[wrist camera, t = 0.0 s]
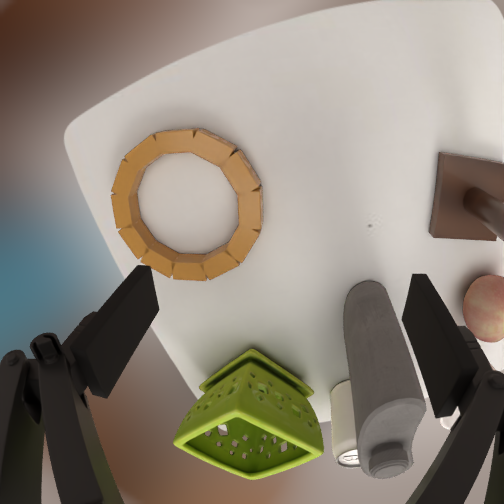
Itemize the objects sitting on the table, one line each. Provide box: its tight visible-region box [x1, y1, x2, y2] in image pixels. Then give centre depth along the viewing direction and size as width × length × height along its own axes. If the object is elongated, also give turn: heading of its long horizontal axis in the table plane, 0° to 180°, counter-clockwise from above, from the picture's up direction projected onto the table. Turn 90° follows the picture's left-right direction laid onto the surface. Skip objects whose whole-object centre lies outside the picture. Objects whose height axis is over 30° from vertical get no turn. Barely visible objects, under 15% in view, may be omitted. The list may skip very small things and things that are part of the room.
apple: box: [463, 275, 504, 342], centre depth 30 cm, size 8×8×8 cm
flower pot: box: [173, 349, 324, 480], centre depth 39 cm, size 14×14×13 cm
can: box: [330, 380, 361, 468], centre depth 38 cm, size 6×6×12 cm
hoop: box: [111, 128, 263, 281], centre depth 33 cm, size 16×16×2 cm
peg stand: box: [429, 152, 504, 241], centre depth 23 cm, size 9×9×14 cm
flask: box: [343, 281, 426, 479], centre depth 29 cm, size 15×6×20 cm, turn 15°
